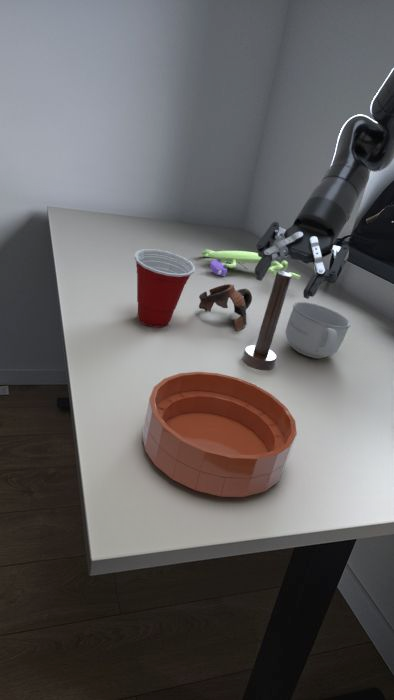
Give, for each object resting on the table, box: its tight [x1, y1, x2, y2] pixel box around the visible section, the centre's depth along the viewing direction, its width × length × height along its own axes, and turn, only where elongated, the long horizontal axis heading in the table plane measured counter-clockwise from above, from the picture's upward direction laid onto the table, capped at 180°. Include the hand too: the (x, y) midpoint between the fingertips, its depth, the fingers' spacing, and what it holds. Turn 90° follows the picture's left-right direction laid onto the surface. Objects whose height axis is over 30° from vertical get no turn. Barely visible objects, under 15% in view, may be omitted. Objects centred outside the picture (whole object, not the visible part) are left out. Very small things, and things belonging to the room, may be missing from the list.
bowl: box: [141, 371, 298, 498], centre depth 59 cm, size 17×17×6 cm
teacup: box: [285, 301, 351, 359], centre depth 91 cm, size 14×11×8 cm
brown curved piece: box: [198, 283, 253, 331], centre depth 99 cm, size 12×10×8 cm
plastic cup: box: [133, 248, 196, 328], centre depth 88 cm, size 11×11×12 cm
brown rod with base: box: [242, 270, 293, 371], centre depth 81 cm, size 6×6×16 cm
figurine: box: [201, 249, 301, 281], centre depth 131 cm, size 18×27×6 cm
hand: (281, 286), depth 79 cm, fingers open, 8 cm apart
